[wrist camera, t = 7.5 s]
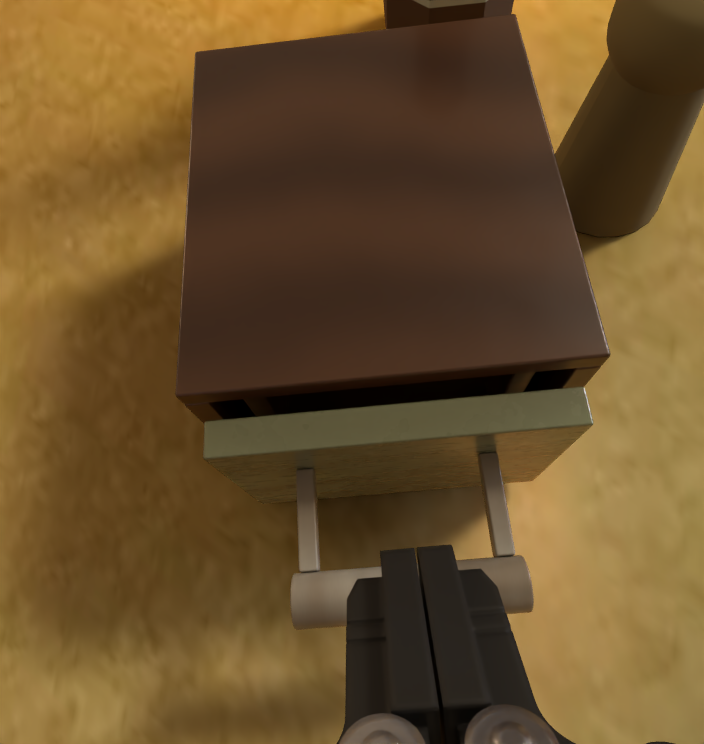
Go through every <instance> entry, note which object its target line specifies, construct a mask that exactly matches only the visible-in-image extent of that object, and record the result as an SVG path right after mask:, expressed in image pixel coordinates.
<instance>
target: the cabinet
mask: <svg viewBox="0 0 704 744" xmlns="http://www.w3.org/2000/svg"><path fill="white" fill-rule="evenodd" d="M609 357H610V351H609V347H608V344H607V340H606V337H605V333H604V330H603V326H602V322H601V319H600V315H599V312H598V308H597V305H596V301H595V297H594V294H593V290H592V287H591V283H590V280H589V276H588V272H587V269H586V265H585V262H584V258H583V254H582V251H581V247H580V244H579V240H578V237H577V233H576V229H575V226H574V222H573V219H572V215H571V212H570V208H569V204H568V201H567V197H566V194H565V190H564V187H563V183H562V179H561V176H560V172H559V169H558V165H557V162H556V158H555V154H554V151H553V147H552V144H551V140H550V136H549V133H548V129H547V126H546V122H545V119H544V115H543V111H542V108H541V104H540V101H539V97H538V94H537V90H536V86H535V83H534V79H533V76H532V72H531V69H530V65H529V61H528V58H527V54H526V51H525V47H524V44H523V40H522V36H521V33H520V29H519V26H518V22H517V18H516V15H515V14H510V15H502V16H494V17H485V18H477V19H468V20H460V21H452V22H443V23H435V24H427V25H418V26H410V27H401V28H393V29H385V30H376V31H368V32H359V33H351V34H343V35H334V36H326V37H317V38H309V39H301V40H292V41H284V42H275V43H267V44H259V45H250V46H242V47H234V48H225V49H217V50H208V51H200V52H196V53H195V67H194V84H193V102H192V119H191V136H190V154H189V171H188V188H187V205H186V223H185V240H184V257H183V275H182V292H181V309H180V327H179V344H178V361H177V378H176V397H177V398H178V399H179V400H180V401H181V402H182V403H183V404H185V406H186V407H187V408H188V409H189V410H190V411H191V412H192V413H193V414H194V415H195V416H196V417H197V418H199V419H200V420H201V421H202V422H203V423H205V422H206V421H213V420H224V419H235V418H246V417H256V416H255V414H254V413H253V412H252V410H251V409H250V408H249V406H248V405H247V404H246V402H245V401H244V400H243V399H250V398H261V397H272V396H282V395H293V394H304V393H315V392H325V391H336V390H347V389H358V388H368V387H379V386H390V385H401V384H411V383H422V382H433V381H443V380H454V379H465V378H476V377H486V376H497V375H508V374H519V373H529V372H536V373H535V374H534V376H533V378H532V379H531V381H530V383H529V384H528V386H527V388H526V390H525V391H524V392H529V391H540V390H551V389H562V388H573V387H584V386H585V385H586V384H587V383H588V381H589V380H590V379H591V378H592V377H593V375H594V374H595V373H596V372H597V371H598V370H599V368H600V367H601V365H603V364H604V362H605V361H606V360H607V359H608V358H609Z"/></svg>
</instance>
